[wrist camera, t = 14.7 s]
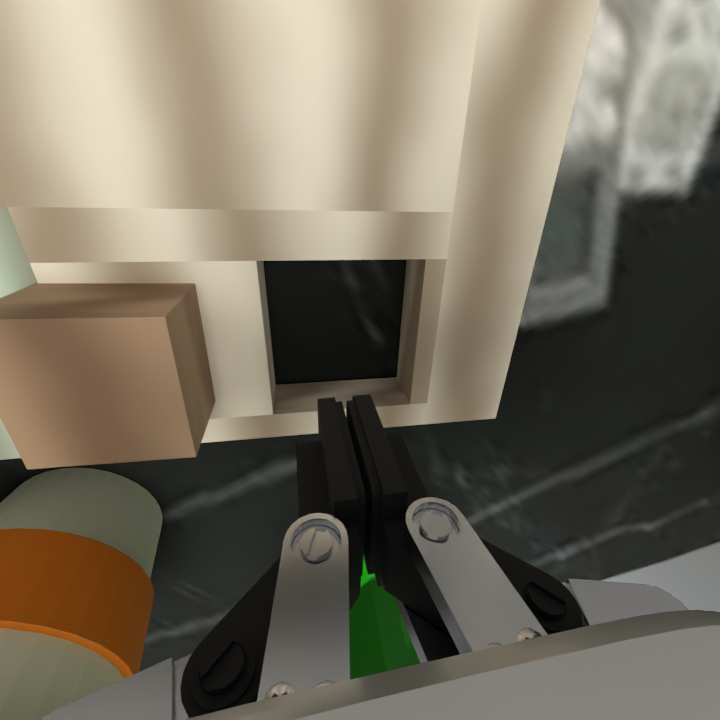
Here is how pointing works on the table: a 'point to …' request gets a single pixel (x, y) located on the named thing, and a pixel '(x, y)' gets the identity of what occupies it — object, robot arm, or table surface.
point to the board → (294, 173)
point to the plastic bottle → (377, 632)
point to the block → (103, 373)
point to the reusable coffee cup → (73, 587)
